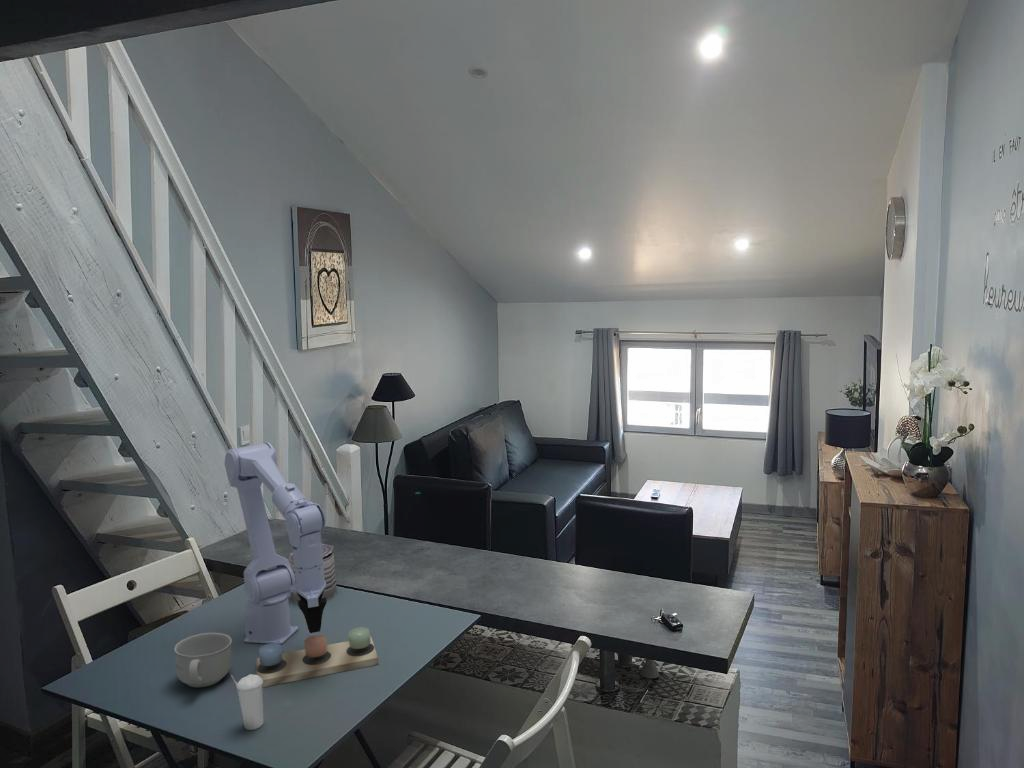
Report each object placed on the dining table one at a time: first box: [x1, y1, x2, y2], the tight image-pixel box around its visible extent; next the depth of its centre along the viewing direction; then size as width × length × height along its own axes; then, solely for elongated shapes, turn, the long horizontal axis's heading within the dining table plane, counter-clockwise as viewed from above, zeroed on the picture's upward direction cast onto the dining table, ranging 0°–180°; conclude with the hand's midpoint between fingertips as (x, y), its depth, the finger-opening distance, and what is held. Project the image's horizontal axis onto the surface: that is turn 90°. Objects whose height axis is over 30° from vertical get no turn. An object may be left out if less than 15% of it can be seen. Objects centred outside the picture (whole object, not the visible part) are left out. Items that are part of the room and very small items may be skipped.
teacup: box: [173, 632, 233, 688], centre depth 150 cm, size 14×11×8 cm
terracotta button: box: [304, 634, 328, 657], centre depth 155 cm, size 4×4×3 cm
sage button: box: [348, 626, 371, 649], centre depth 158 cm, size 4×4×3 cm
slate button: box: [258, 643, 283, 666], centre depth 153 cm, size 4×4×3 cm
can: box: [287, 543, 338, 605], centre depth 191 cm, size 11×11×12 cm
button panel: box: [255, 636, 379, 688], centre depth 156 cm, size 24×10×2 cm, turn 108°
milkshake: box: [230, 673, 264, 731], centre depth 134 cm, size 4×5×10 cm
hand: (314, 626), depth 155 cm, fingers open, 4 cm apart
